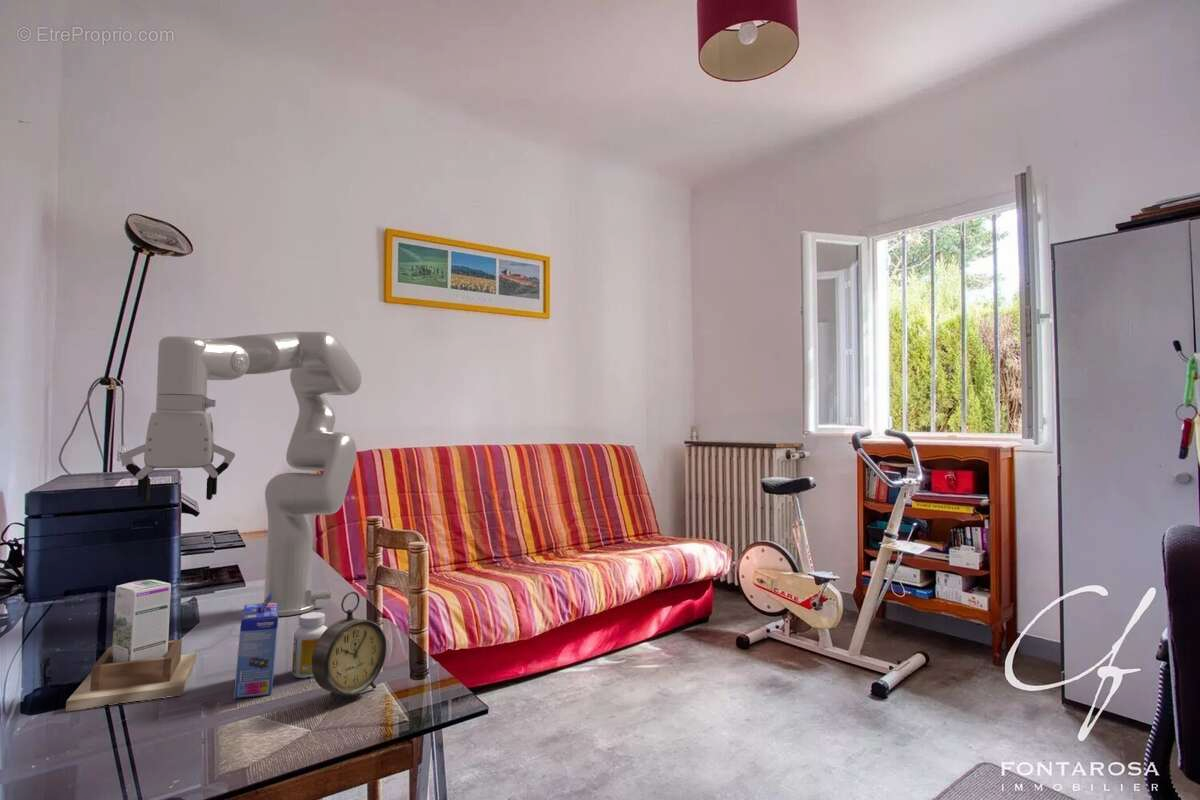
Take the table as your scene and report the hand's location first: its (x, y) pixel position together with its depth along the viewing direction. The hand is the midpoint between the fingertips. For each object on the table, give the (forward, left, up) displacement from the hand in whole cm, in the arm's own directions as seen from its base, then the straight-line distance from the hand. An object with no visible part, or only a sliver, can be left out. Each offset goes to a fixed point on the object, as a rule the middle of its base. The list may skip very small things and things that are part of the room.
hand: (178, 500), depth 112 cm
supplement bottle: (-23, +15, -29) cm, 39 cm away
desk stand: (+2, +10, -28) cm, 30 cm away
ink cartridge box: (-15, +18, -29) cm, 37 cm away
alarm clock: (-28, +28, -29) cm, 49 cm away
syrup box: (+2, +10, -27) cm, 29 cm away
